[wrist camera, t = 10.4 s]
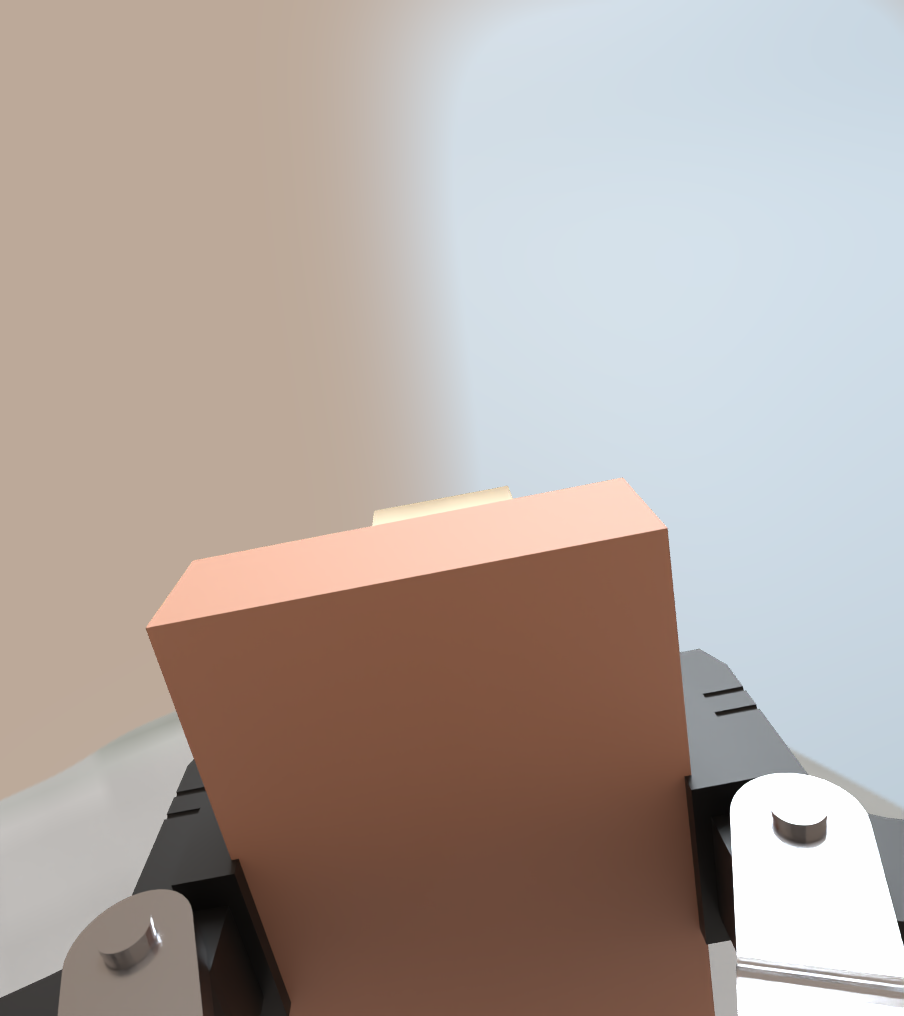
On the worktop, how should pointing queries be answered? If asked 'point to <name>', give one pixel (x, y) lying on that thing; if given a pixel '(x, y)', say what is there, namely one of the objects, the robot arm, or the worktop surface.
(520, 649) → the terracotta domino
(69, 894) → the worktop surface
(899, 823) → the robot arm
